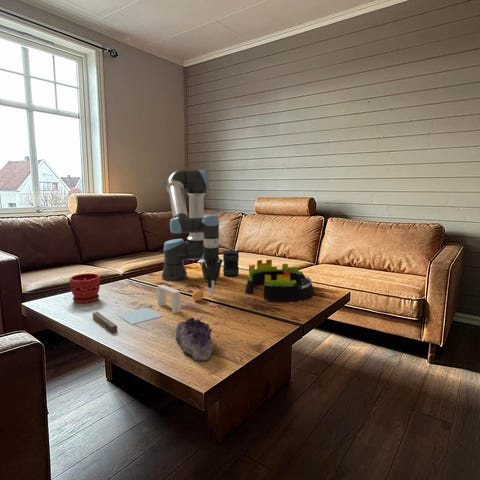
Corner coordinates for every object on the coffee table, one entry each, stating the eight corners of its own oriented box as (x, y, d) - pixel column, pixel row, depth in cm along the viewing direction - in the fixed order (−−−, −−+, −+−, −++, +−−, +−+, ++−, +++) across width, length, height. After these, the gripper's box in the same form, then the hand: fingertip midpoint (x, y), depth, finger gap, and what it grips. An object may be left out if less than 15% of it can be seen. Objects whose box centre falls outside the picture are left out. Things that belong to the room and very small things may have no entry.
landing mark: (147, 307, 155) (147, 307, 155) (163, 316, 144) (163, 315, 144) (117, 315, 145) (117, 314, 145) (131, 324, 135) (131, 324, 135)
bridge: (163, 303, 161) (163, 284, 159) (180, 311, 150) (180, 291, 149) (158, 305, 159) (157, 285, 157) (174, 313, 148) (174, 292, 147)
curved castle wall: (315, 306, 159) (316, 274, 157) (238, 300, 166) (238, 270, 164) (314, 285, 195) (315, 259, 193) (251, 281, 202) (251, 256, 200)
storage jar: (241, 276, 213) (241, 252, 210) (226, 277, 209) (226, 253, 207) (235, 272, 222) (235, 250, 220) (221, 274, 218) (220, 251, 216)
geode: (226, 358, 109) (222, 329, 107) (191, 370, 104) (187, 341, 102) (204, 332, 127) (201, 307, 125) (174, 341, 123) (170, 316, 120)
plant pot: (65, 302, 162) (63, 277, 160) (88, 295, 173) (87, 272, 172) (83, 306, 156) (82, 281, 154) (107, 298, 167) (105, 275, 166)
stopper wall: (97, 317, 143) (97, 311, 143) (117, 331, 128) (117, 325, 128) (92, 318, 142) (92, 312, 141) (112, 333, 127) (111, 326, 127)
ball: (199, 298, 169) (199, 287, 168) (206, 300, 165) (206, 289, 164) (190, 300, 165) (189, 289, 164) (196, 303, 161) (196, 292, 160)
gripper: (205, 249, 160) (205, 298, 163) (226, 246, 168) (226, 292, 172) (195, 247, 165) (196, 294, 168) (216, 244, 174) (217, 289, 177)
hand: (211, 293), depth 170 cm, fingers closed
